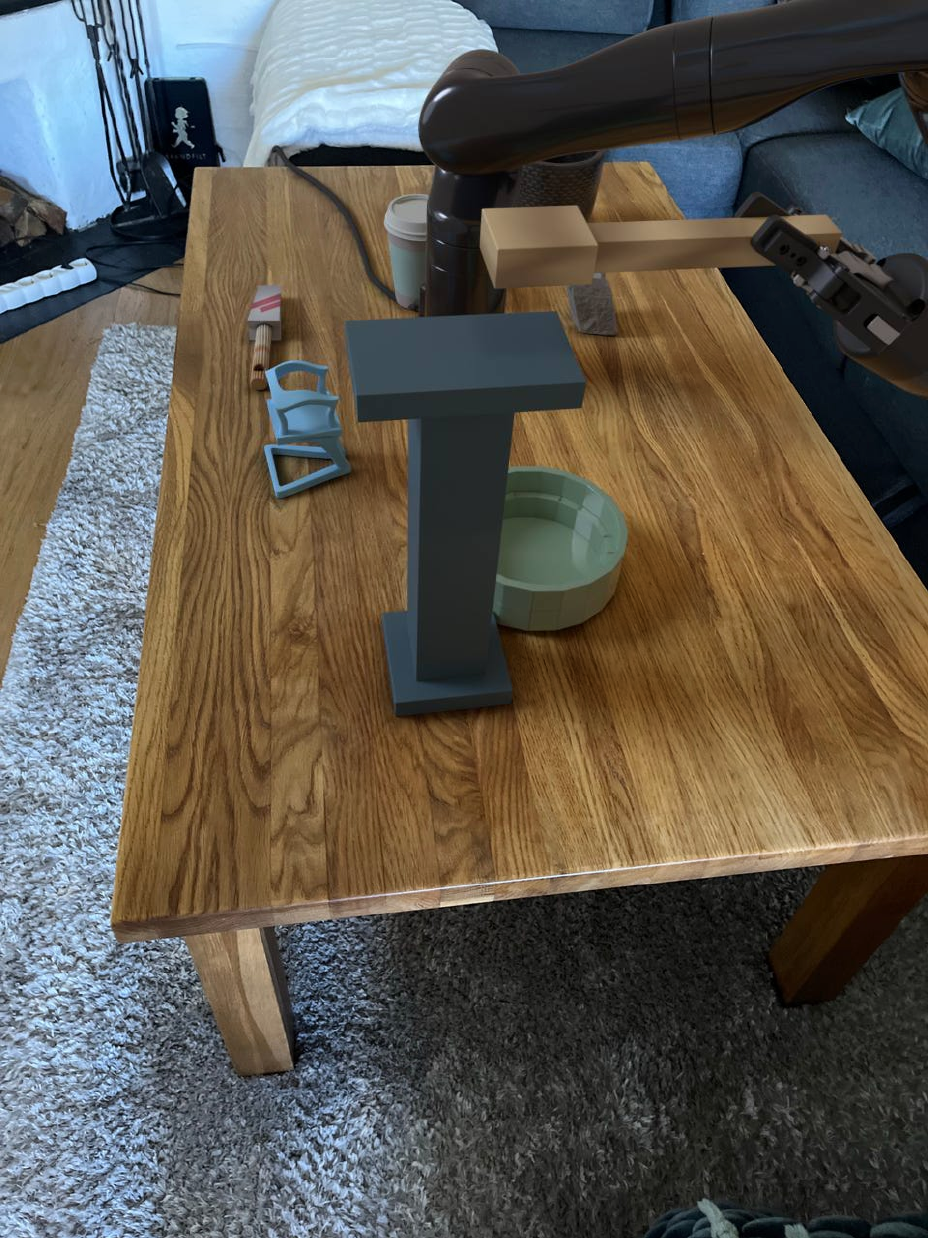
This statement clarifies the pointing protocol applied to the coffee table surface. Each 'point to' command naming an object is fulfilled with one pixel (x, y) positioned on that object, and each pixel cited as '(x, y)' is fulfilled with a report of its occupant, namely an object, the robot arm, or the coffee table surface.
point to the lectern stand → (456, 481)
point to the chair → (304, 426)
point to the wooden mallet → (619, 244)
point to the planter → (563, 182)
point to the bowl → (556, 550)
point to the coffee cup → (407, 245)
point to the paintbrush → (264, 330)
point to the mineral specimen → (593, 306)
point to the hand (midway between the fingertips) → (754, 219)
